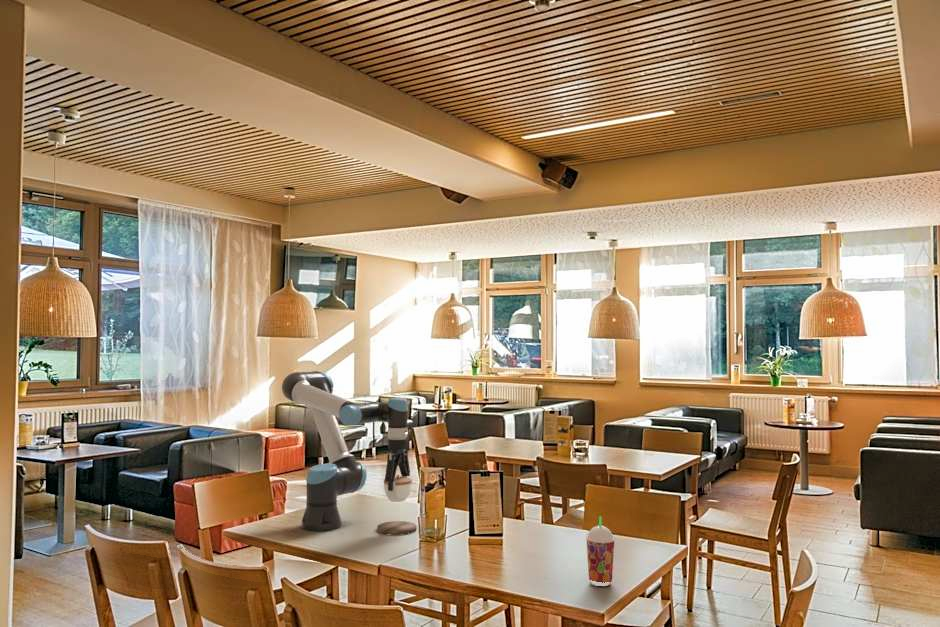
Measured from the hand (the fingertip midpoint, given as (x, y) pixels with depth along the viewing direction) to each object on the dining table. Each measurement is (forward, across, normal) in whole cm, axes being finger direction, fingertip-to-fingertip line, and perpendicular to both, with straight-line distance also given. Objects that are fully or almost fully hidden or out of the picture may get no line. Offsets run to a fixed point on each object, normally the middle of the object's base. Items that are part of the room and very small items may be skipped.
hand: (397, 496), depth 276 cm
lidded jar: (+2, 0, 0) cm, 2 cm away
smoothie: (+14, -36, -83) cm, 91 cm away
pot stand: (+13, 0, 0) cm, 13 cm away
